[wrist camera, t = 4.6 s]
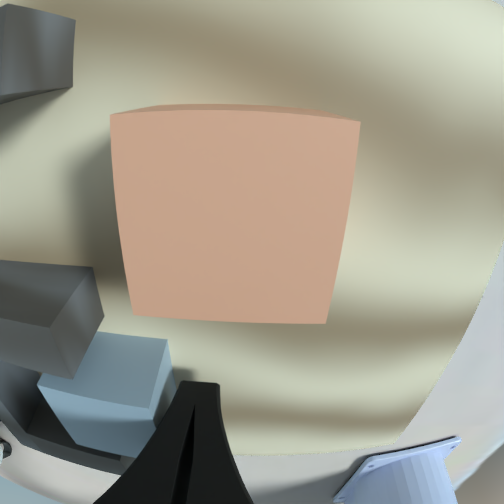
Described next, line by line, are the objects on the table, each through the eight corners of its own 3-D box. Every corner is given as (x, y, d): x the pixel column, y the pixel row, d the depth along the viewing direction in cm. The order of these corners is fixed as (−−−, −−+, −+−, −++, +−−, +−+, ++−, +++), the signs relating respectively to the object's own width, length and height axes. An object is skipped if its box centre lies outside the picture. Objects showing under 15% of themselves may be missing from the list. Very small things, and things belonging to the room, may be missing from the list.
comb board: (391, 437, 16) (405, 484, 13) (38, 413, 15) (20, 455, 12) (524, 27, 6) (594, 28, 2) (-63, 34, 5) (-123, 41, 2)
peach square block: (305, 254, 9) (325, 323, 6) (164, 248, 9) (133, 315, 6) (321, 110, 7) (360, 121, 5) (158, 104, 7) (109, 115, 4)
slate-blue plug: (179, 404, 13) (169, 463, 10) (95, 391, 12) (76, 444, 10) (167, 339, 11) (149, 408, 8) (69, 326, 11) (36, 384, 8)
